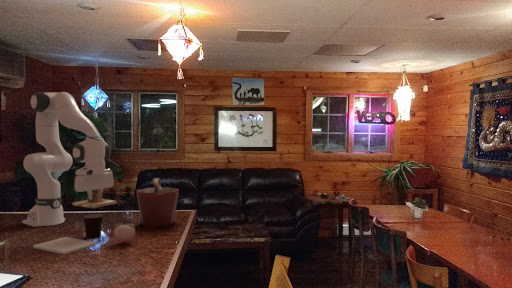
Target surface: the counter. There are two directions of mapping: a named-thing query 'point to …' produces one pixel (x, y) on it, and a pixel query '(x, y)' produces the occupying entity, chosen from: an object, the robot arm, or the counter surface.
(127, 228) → the decorative fruit
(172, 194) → the bucket
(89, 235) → the coffee mug
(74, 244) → the rubber mat
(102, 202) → the birch lid
